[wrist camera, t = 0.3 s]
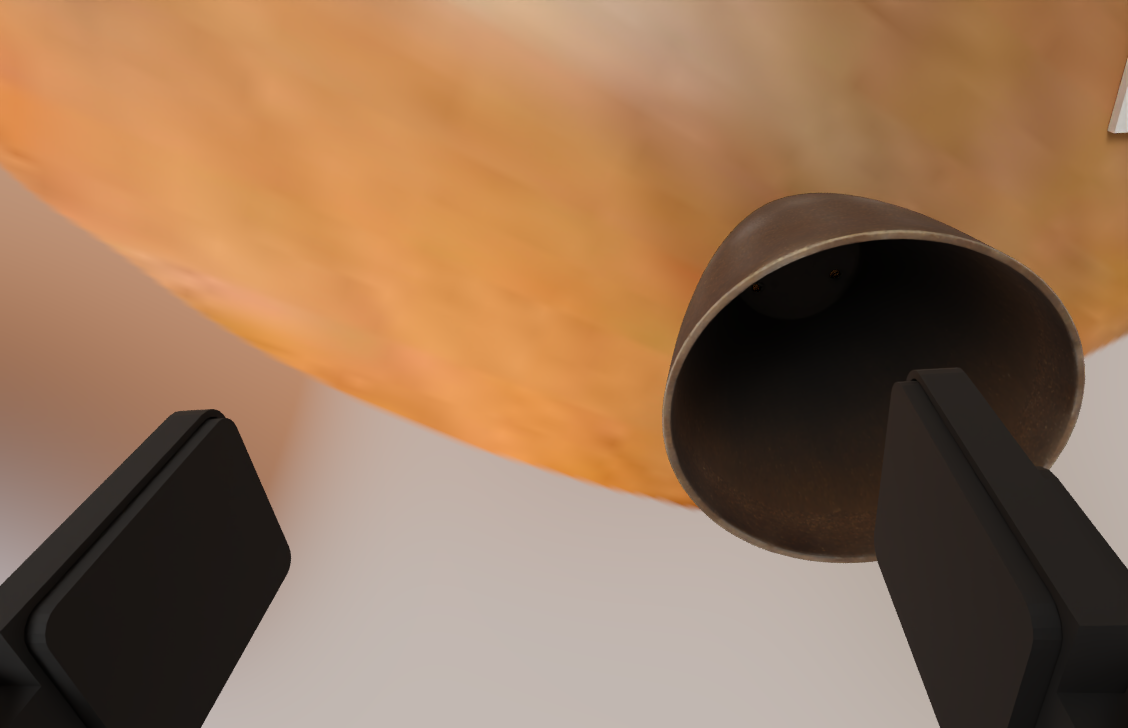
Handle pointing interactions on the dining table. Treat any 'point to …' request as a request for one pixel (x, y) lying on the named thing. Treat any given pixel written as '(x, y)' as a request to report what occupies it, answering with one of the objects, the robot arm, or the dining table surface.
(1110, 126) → the mat
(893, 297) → the plant pot
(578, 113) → the dining table surface
